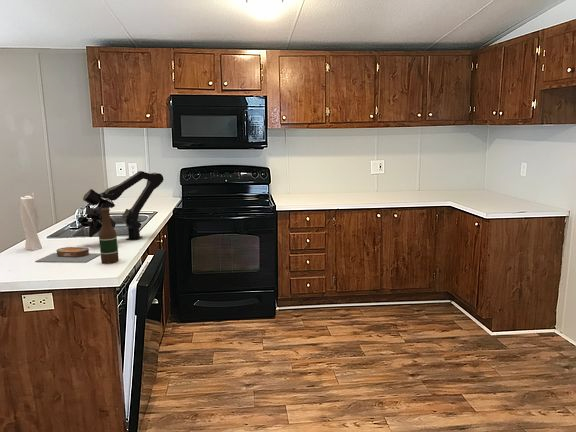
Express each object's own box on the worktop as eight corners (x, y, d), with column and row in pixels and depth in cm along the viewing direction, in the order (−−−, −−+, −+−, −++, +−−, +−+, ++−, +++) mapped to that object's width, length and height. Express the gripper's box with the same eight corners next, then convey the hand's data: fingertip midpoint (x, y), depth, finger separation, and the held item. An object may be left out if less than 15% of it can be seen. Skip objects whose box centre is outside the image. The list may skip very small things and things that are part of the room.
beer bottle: (97, 261, 209) (92, 208, 205) (114, 258, 214) (110, 206, 210) (105, 265, 204) (100, 210, 199) (122, 261, 209) (117, 208, 204)
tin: (92, 247, 222) (81, 250, 214) (92, 254, 223) (81, 257, 214) (64, 246, 225) (52, 249, 217) (64, 253, 226) (52, 256, 218)
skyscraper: (46, 247, 237) (39, 192, 232) (33, 251, 230) (26, 194, 225) (34, 246, 239) (27, 191, 234) (21, 250, 233) (14, 193, 227)
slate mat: (53, 253, 224) (53, 252, 224) (101, 254, 222) (101, 253, 222) (35, 262, 210) (35, 261, 210) (86, 262, 208) (86, 261, 208)
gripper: (77, 200, 235) (64, 227, 227) (109, 201, 230) (97, 228, 222) (89, 213, 244) (77, 239, 236) (121, 214, 239) (109, 240, 231)
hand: (90, 236), depth 231 cm, fingers closed
